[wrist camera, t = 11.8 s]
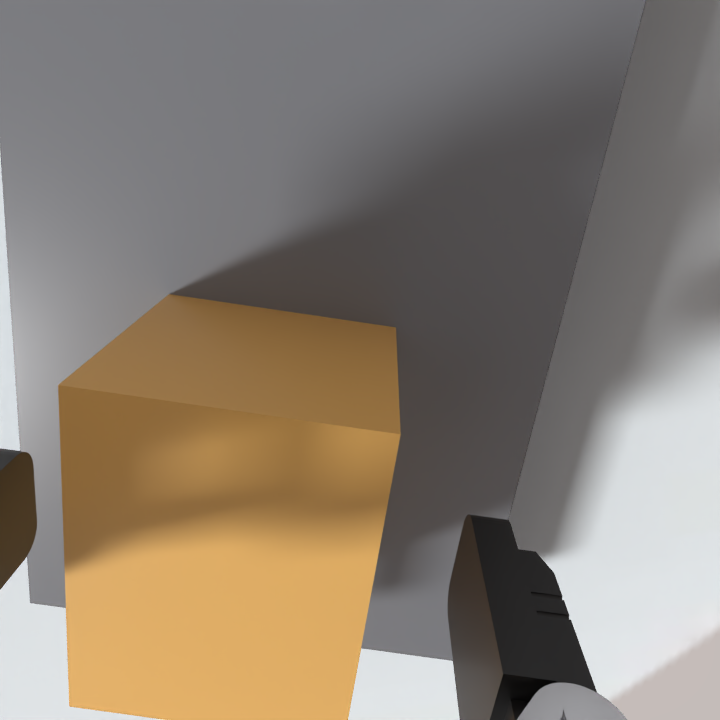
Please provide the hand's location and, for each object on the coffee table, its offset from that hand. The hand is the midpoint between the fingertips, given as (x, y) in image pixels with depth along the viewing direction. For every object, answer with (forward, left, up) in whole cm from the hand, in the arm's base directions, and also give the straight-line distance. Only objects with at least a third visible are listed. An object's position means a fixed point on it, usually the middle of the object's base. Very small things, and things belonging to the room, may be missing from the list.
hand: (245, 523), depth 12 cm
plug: (+1, 0, -6) cm, 7 cm away
